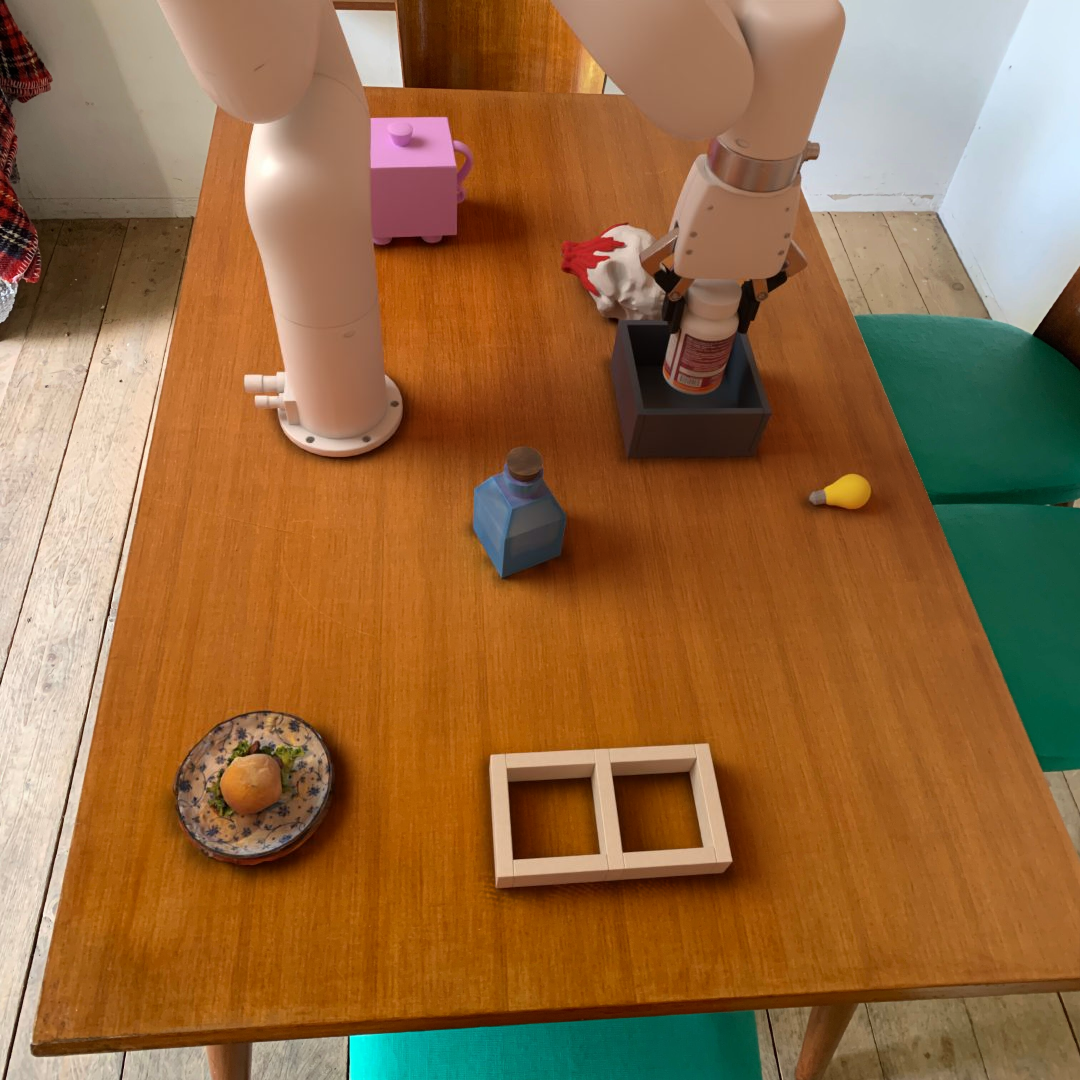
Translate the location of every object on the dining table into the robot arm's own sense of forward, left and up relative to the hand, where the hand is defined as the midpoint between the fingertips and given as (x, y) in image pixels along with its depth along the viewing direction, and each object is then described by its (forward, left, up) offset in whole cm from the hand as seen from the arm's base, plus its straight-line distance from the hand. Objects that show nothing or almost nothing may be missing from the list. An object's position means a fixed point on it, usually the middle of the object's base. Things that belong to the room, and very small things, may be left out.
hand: (705, 323), depth 89 cm
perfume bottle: (-19, -17, -12) cm, 28 cm away
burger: (-41, -40, -12) cm, 59 cm away
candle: (-5, +18, -12) cm, 22 cm away
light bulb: (+14, -13, -12) cm, 23 cm away
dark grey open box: (0, 0, -12) cm, 12 cm away
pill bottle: (0, 0, -7) cm, 7 cm away
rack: (-14, -44, -12) cm, 48 cm away
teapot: (-31, +32, -12) cm, 46 cm away
